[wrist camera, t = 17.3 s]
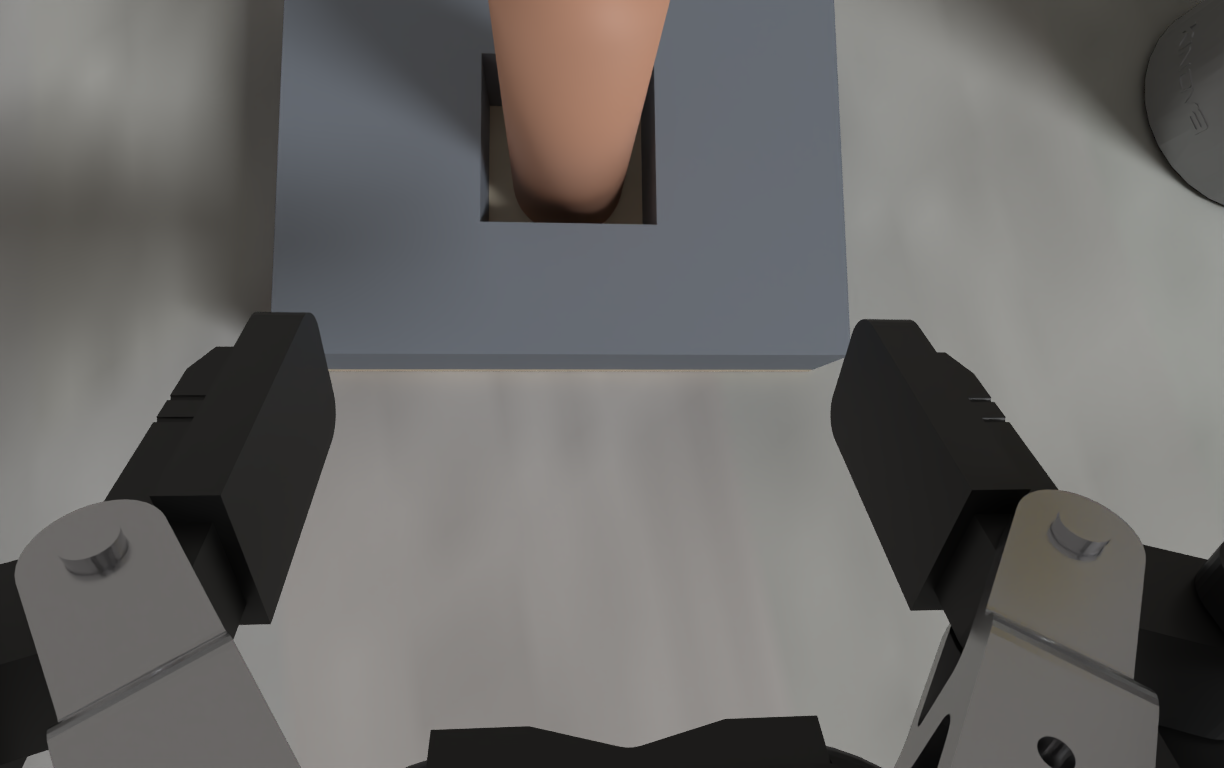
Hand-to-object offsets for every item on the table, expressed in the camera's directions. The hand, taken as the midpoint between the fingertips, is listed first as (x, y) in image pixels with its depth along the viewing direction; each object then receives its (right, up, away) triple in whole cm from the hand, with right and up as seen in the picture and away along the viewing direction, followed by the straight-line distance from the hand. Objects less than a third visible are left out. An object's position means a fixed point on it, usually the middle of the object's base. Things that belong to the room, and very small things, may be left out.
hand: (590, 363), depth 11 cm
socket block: (-1, +7, +17) cm, 18 cm away
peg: (-1, +7, +16) cm, 18 cm away
